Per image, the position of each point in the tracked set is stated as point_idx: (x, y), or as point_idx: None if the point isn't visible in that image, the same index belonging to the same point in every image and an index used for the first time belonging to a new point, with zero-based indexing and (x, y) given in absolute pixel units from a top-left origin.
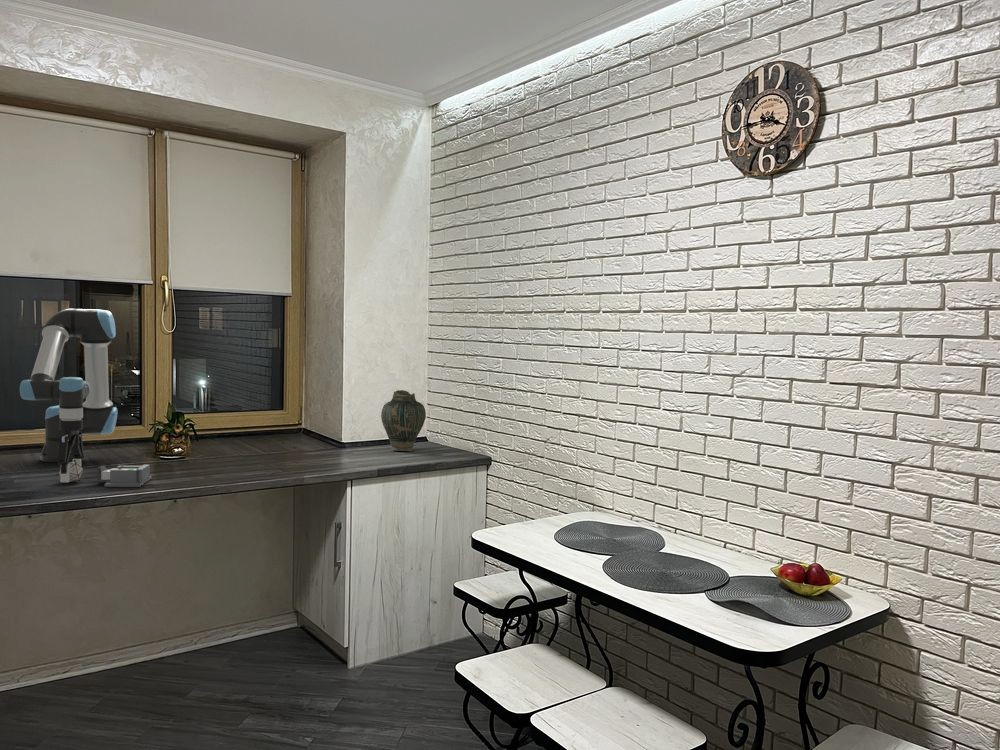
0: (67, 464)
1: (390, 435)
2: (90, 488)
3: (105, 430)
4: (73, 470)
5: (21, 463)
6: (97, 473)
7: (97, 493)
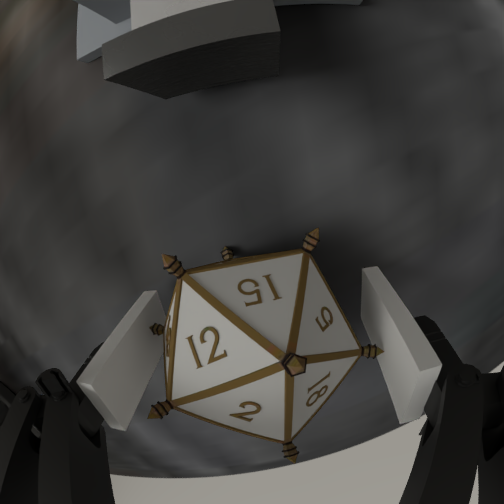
0: (456, 367)
1: None
2: (426, 74)
3: None
4: (323, 313)
5: None
6: (277, 54)
7: (495, 24)
